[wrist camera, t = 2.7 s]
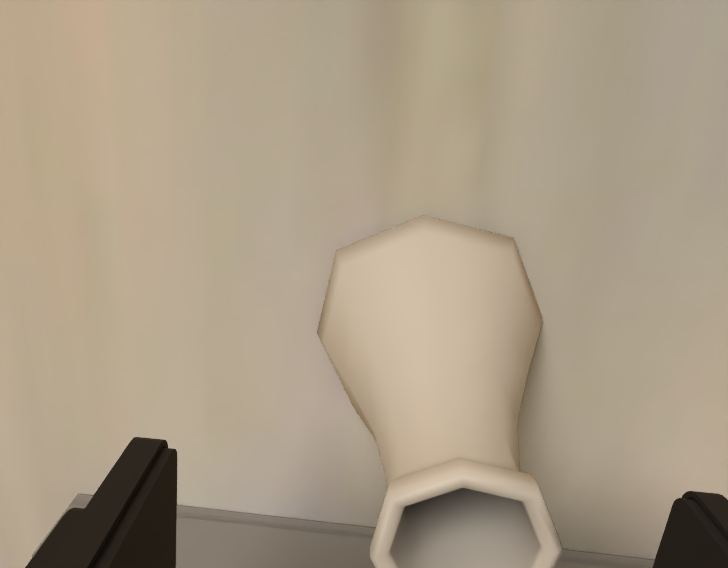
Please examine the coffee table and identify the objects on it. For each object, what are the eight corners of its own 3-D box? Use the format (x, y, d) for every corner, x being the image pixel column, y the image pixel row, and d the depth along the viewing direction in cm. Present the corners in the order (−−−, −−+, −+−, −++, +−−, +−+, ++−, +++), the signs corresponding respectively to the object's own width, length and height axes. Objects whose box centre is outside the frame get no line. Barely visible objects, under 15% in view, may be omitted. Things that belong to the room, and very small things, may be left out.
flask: (539, 413, 20) (671, 705, 11) (329, 424, 21) (279, 714, 11) (541, 204, 18) (713, 343, 8) (305, 221, 18) (216, 373, 9)
